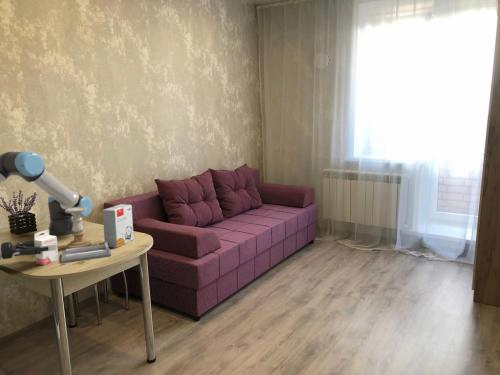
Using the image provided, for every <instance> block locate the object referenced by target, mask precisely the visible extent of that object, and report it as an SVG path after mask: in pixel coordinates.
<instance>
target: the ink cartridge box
mask: <svg viewBox="0 0 500 375" xmlns="http://www.w3.org/2000/svg"><path fill="white" fill-rule="evenodd" d="M33 237H34V238H33V240H34V243H35V247H40V246H44V245H52V244H56V247H57V250H53V251H46V252H41V254H35V262H36V265H41V266H45V265H49V264H50V263H53V262H55V261H58V260H59V250H58V244H57V243H58V238H57V236H53V235H49V229H45V230H42V231H38V232H35V233H34V236H33Z"/></svg>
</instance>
